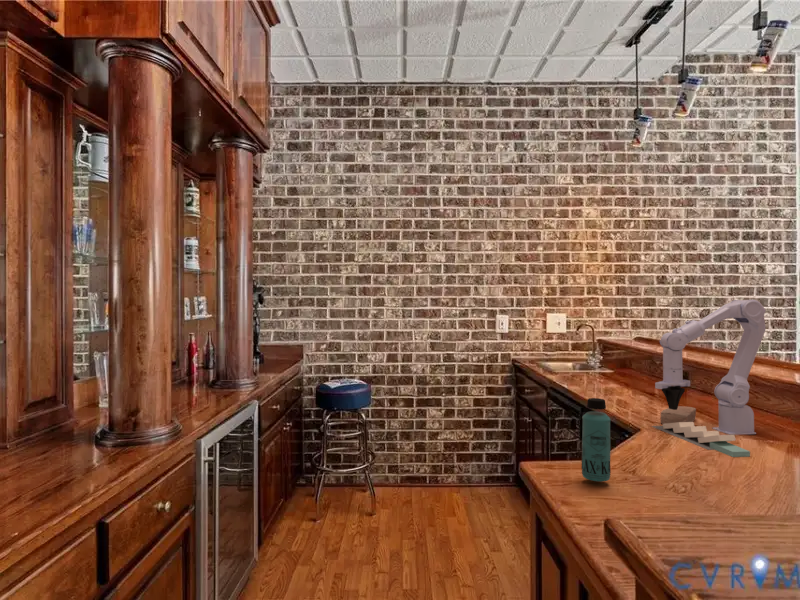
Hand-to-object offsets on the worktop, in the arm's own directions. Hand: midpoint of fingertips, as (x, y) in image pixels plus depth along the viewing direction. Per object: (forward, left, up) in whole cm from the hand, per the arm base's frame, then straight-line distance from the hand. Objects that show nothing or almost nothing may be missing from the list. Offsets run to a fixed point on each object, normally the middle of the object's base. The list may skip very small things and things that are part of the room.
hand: (673, 409), depth 165 cm
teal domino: (0, +20, -6) cm, 21 cm away
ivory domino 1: (0, -2, -6) cm, 6 cm away
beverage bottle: (+49, +44, -7) cm, 67 cm away
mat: (0, +8, -7) cm, 11 cm away
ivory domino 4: (0, +16, -6) cm, 17 cm away
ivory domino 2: (0, +4, -6) cm, 7 cm away
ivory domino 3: (0, +9, -6) cm, 11 cm away
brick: (-9, -10, -7) cm, 16 cm away
